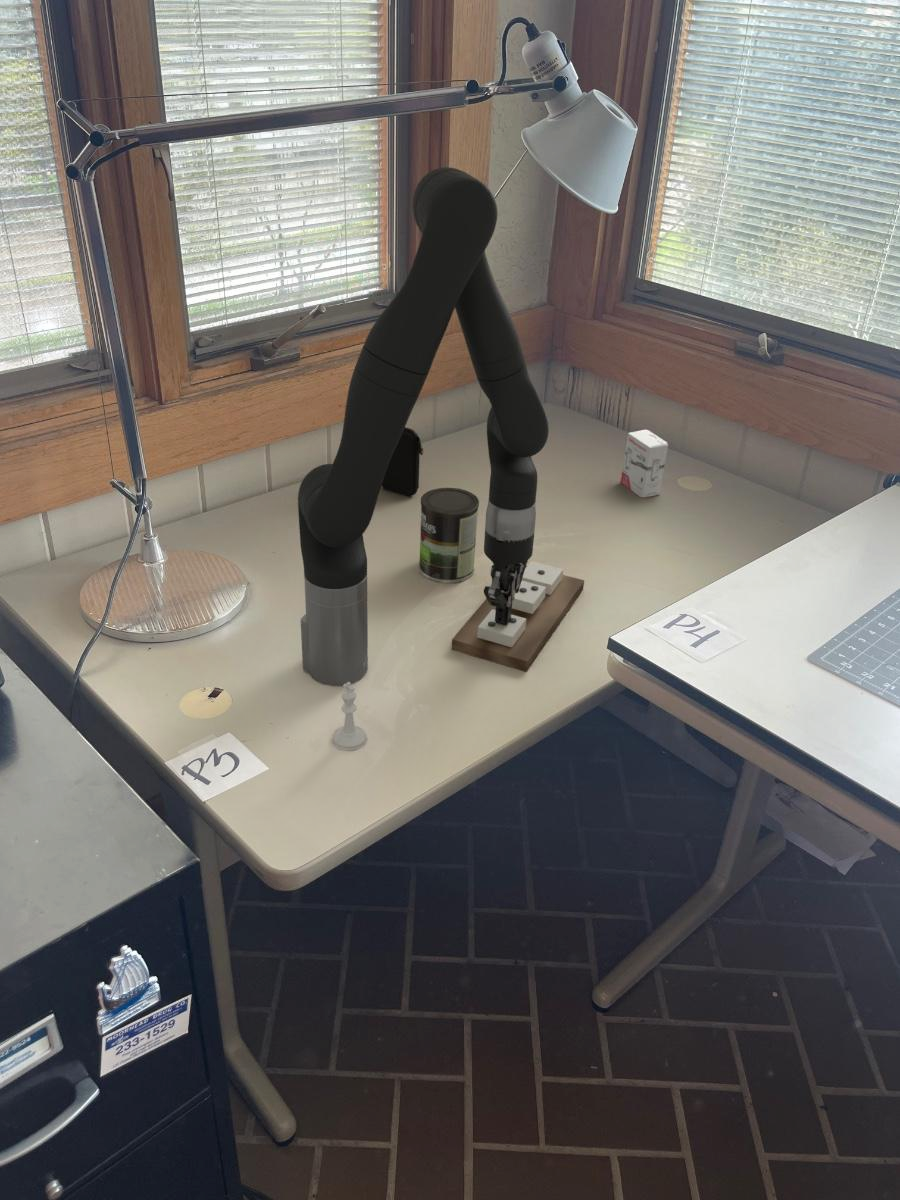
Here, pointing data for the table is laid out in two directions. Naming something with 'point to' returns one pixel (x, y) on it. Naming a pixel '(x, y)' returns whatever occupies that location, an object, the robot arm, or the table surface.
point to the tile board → (532, 637)
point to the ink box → (644, 463)
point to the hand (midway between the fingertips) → (502, 622)
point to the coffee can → (448, 534)
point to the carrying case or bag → (404, 465)
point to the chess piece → (349, 724)
